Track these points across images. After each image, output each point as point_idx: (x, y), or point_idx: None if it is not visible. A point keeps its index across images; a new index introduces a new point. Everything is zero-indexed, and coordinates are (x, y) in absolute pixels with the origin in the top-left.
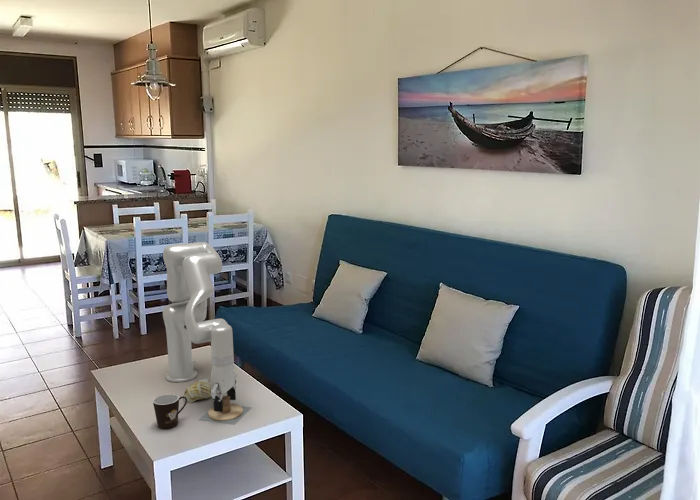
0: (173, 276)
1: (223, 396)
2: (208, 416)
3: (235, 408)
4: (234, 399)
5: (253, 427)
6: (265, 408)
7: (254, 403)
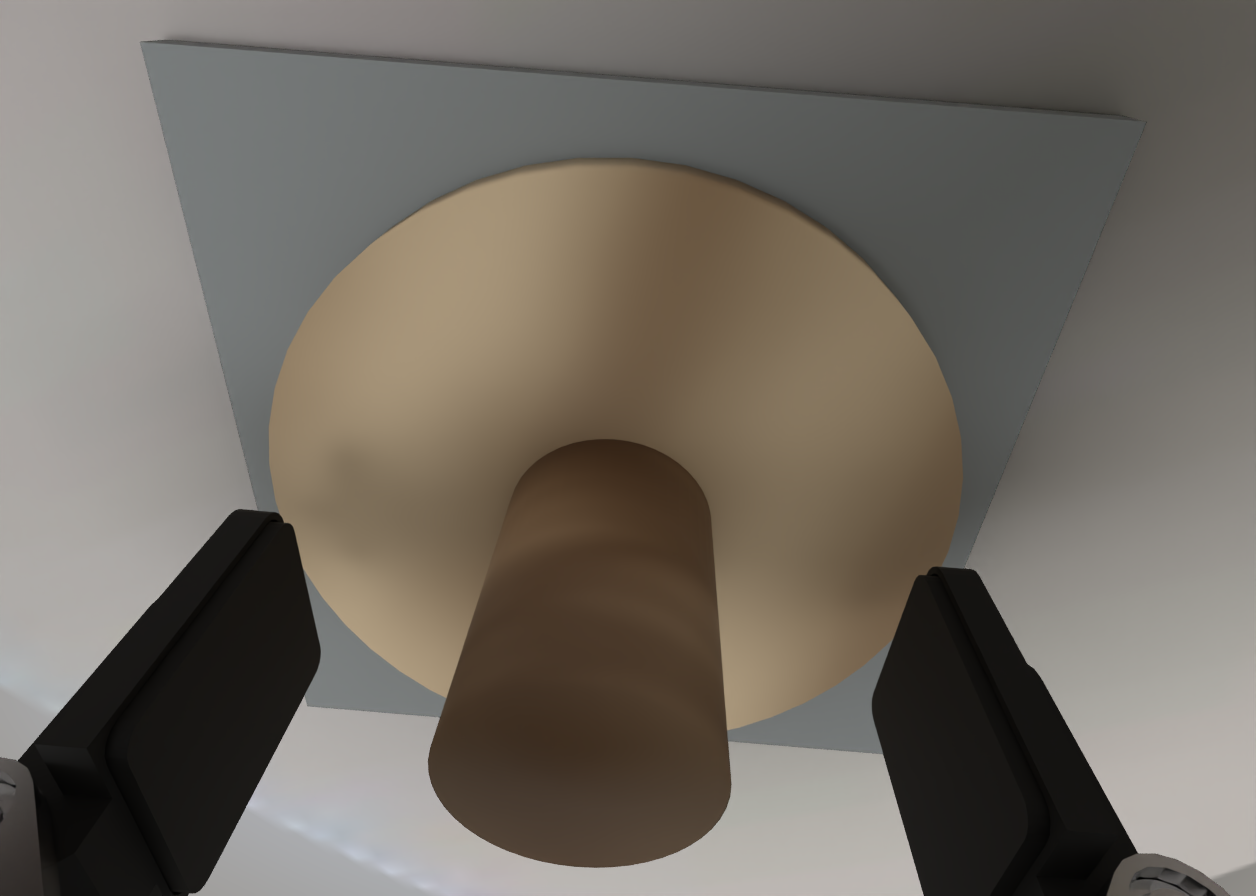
0: None
1: (653, 739)
2: (391, 223)
3: (733, 642)
4: (876, 716)
5: (381, 838)
6: (894, 841)
7: (1079, 716)
